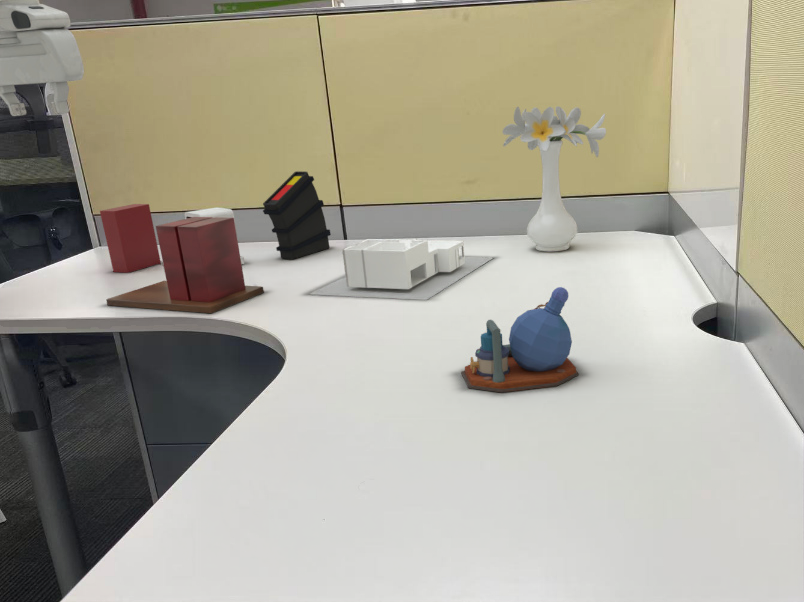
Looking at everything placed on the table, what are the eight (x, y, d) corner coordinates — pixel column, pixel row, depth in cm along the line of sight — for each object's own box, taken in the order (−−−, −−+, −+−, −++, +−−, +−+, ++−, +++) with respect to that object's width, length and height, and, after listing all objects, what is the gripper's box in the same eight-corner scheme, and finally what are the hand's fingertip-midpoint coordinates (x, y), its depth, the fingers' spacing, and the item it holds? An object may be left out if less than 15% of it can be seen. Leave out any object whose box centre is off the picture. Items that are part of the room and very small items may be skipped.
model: (561, 355, 92) (559, 275, 88) (586, 382, 83) (585, 295, 80) (457, 367, 89) (451, 285, 86) (472, 396, 81) (466, 307, 78)
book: (128, 272, 145) (114, 211, 141) (113, 272, 146) (99, 210, 142) (161, 263, 151) (149, 204, 148) (146, 262, 153) (134, 203, 149)
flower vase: (616, 248, 146) (616, 102, 137) (520, 259, 140) (514, 108, 131) (586, 236, 157) (584, 101, 148) (496, 246, 152) (489, 106, 143)
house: (431, 297, 117) (428, 256, 115) (321, 291, 123) (316, 253, 121) (485, 263, 137) (483, 227, 135) (388, 260, 143) (385, 226, 140)
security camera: (193, 267, 147) (183, 211, 143) (229, 260, 151) (219, 206, 148) (210, 271, 142) (200, 214, 139) (246, 264, 147) (237, 208, 144)
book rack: (211, 313, 116) (196, 230, 111) (107, 305, 123) (89, 226, 118) (264, 292, 126) (251, 215, 122) (165, 286, 133) (150, 213, 129)
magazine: (341, 236, 160) (310, 170, 149) (304, 278, 152) (269, 211, 142) (326, 235, 161) (294, 170, 151) (289, 277, 154) (253, 211, 143)
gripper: (-55, 25, 123) (-23, 119, 129) (41, 14, 116) (70, 115, 121) (-17, 23, 128) (12, 114, 134) (76, 13, 121) (103, 109, 127)
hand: (40, 114), depth 128 cm, fingers open, 8 cm apart
